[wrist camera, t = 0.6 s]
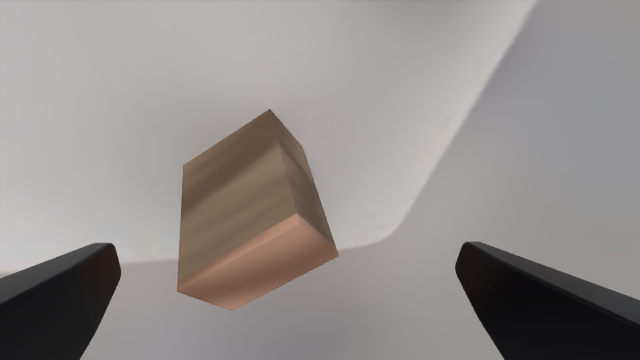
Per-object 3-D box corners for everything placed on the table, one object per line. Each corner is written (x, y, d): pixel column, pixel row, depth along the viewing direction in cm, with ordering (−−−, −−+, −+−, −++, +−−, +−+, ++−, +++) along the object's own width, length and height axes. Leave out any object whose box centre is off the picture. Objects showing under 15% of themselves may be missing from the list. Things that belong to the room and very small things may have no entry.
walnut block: (183, 165, 22) (176, 291, 16) (269, 109, 20) (299, 223, 14) (224, 194, 24) (232, 311, 18) (302, 147, 23) (338, 255, 17)
